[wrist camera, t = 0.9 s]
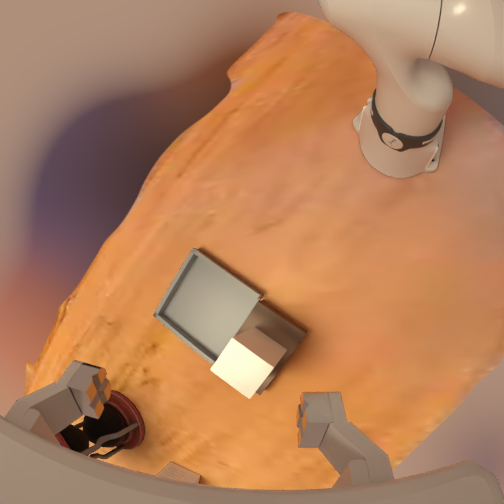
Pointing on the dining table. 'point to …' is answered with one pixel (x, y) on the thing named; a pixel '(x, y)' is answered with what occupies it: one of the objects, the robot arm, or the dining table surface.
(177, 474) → the small box
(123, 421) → the hourglass
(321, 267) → the dining table surface
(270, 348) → the cream block
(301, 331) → the brown flat block
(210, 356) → the gray tray
